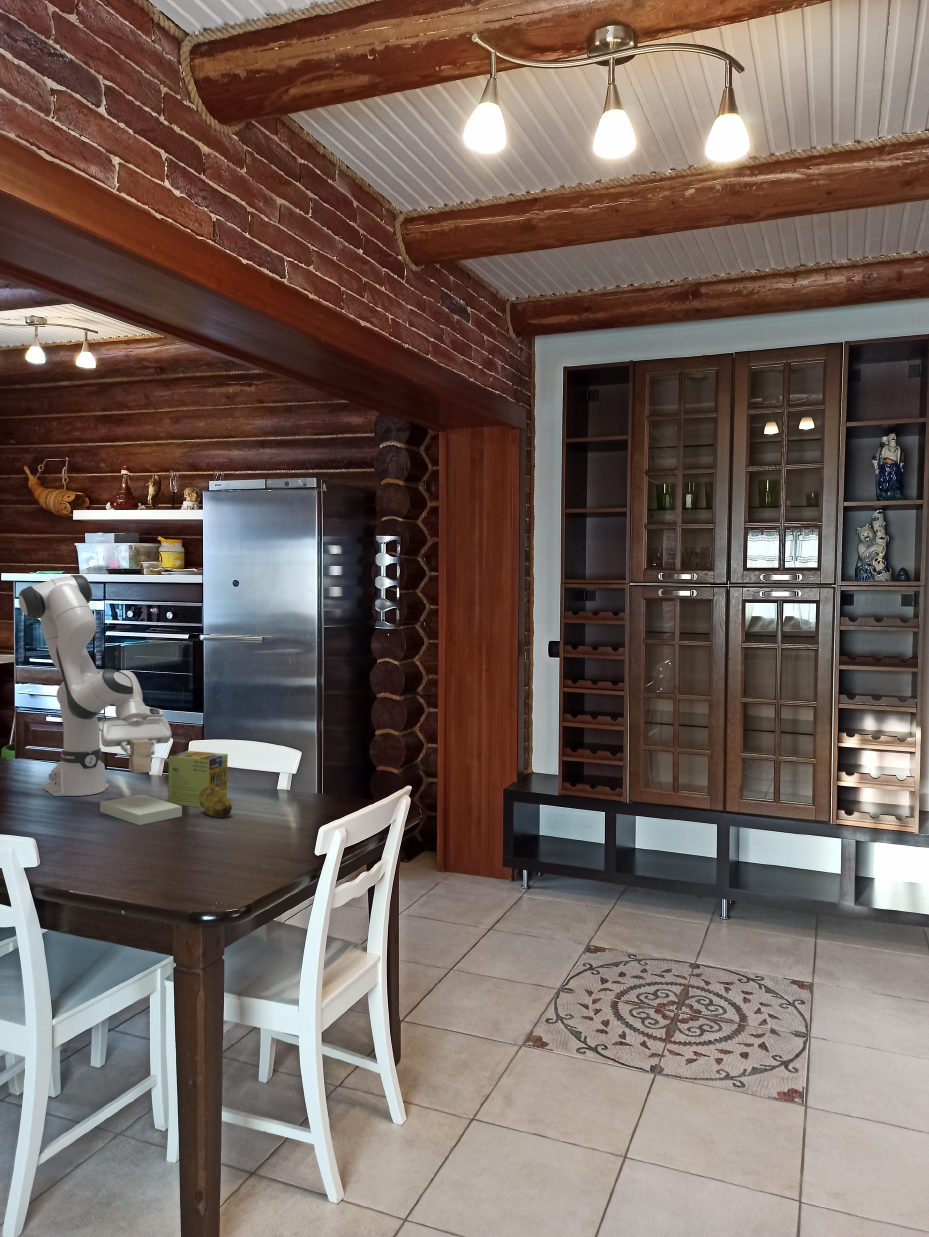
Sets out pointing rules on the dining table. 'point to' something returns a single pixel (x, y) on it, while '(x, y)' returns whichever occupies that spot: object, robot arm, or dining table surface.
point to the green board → (141, 809)
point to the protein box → (195, 776)
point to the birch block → (140, 756)
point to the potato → (215, 802)
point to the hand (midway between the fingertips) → (141, 754)
